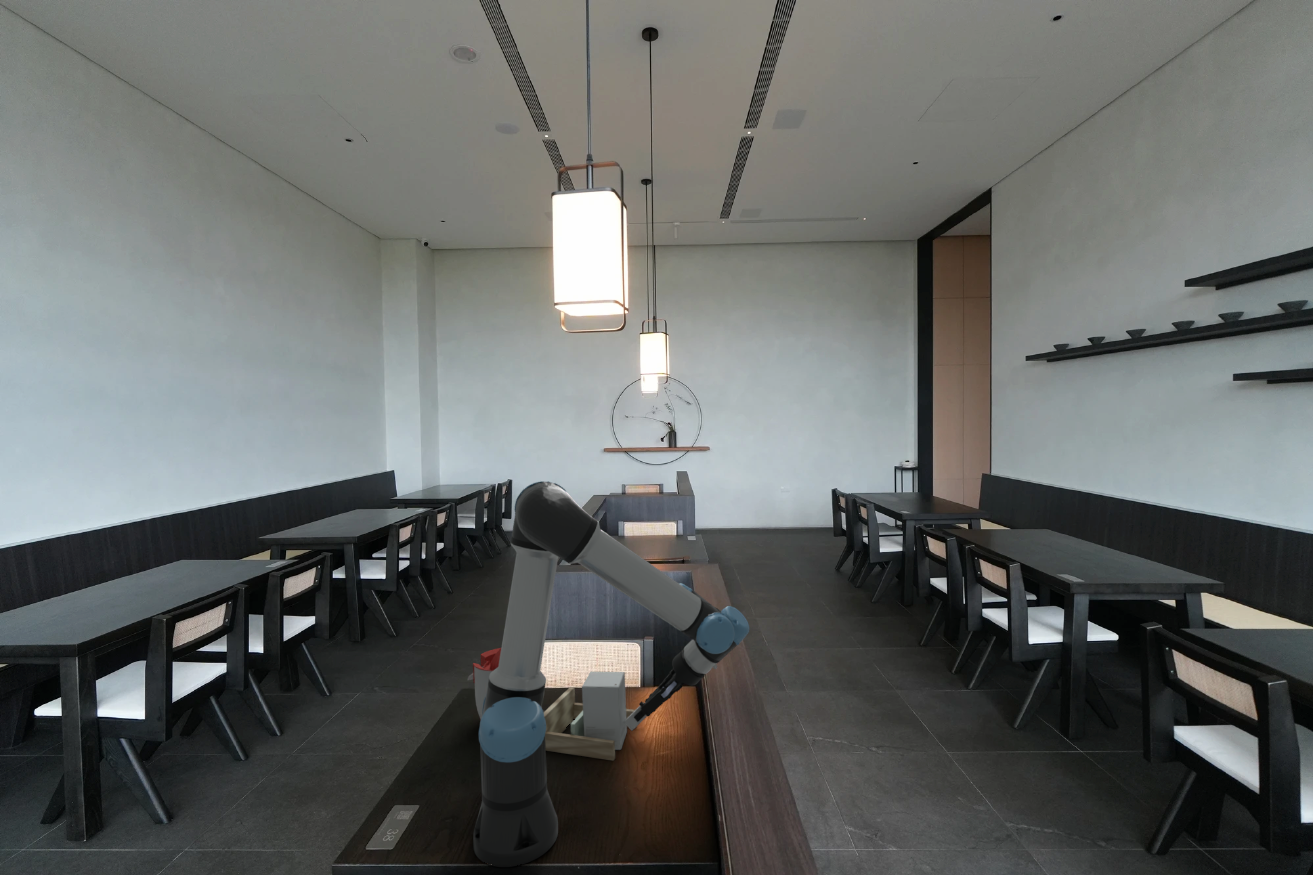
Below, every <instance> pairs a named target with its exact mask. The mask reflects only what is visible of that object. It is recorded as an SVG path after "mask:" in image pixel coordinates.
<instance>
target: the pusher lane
mask: <svg viewBox="0 0 1313 875" xmlns="http://www.w3.org/2000/svg"><path fill="white" fill-rule="evenodd" d="M575 689H576V688H575V687H574V686H569V687H568V689H567V690H565V691H564V692H563V693H562V694H561V695H560V696H559V697H558V698H557V699H556V700H555V701H554V702H553V703H552V704H550V706H548V708H547V709H546V710H544V711H543V712H544V717H545V721H546V732H545V743H546V751H547V752H553V753H554V752H555V753H561V754H567V755H572V756H579V757H581V756H582V757H588V758H593V759H600V760H607V761H615V759H616V750H615V741H613V740H605V739H598V738H591V737H584V736H577V735H571V733H570V734H568V733H563V732H564V731H565V730H566V729H567V728H568V727H569V726H570V725H571V723H572V722H573V721H574V720H573V719H576V717H577V716H578V715H579V714H580V713H581V712H582V711H583V702H576V694H575V693H576V691H575ZM635 710H636V709H631V708H630V709H629V708H626V718H628V717H629V716H630V715H631V714H632V713H633V712H634V711H635ZM569 724H570V725H569ZM568 725H569V726H568ZM567 726H568V727H567ZM566 727H567V728H566ZM637 727H638V725H637V726H636V727H635V728H634V729H637ZM627 728H629V727H628V726H627Z"/></svg>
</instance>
